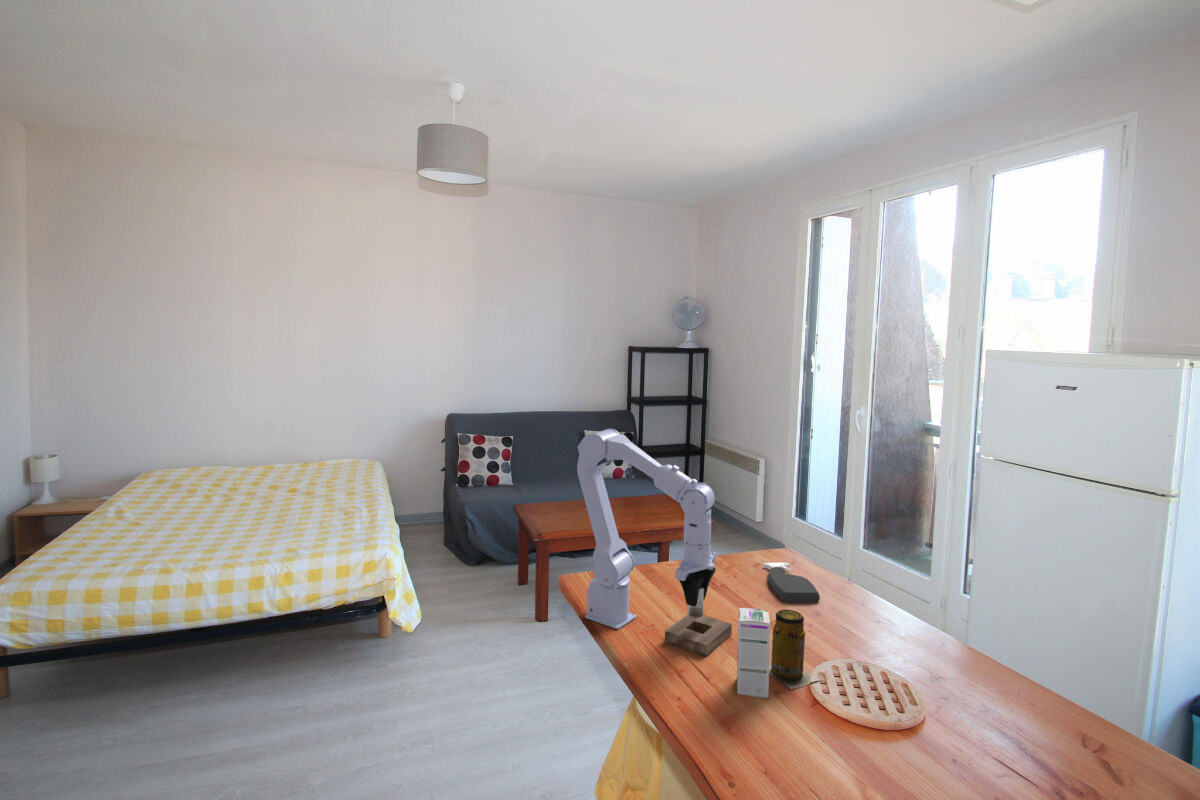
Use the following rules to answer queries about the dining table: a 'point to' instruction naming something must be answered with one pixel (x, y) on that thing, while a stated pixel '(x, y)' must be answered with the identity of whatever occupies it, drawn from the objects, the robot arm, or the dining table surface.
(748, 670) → the syrup box
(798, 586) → the spray bottle
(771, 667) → the condiment
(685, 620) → the bore block
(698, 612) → the pin
